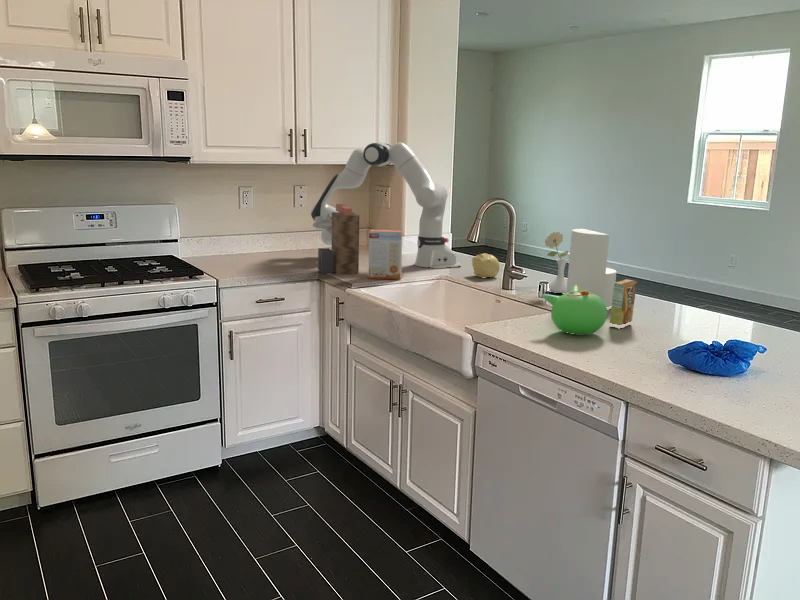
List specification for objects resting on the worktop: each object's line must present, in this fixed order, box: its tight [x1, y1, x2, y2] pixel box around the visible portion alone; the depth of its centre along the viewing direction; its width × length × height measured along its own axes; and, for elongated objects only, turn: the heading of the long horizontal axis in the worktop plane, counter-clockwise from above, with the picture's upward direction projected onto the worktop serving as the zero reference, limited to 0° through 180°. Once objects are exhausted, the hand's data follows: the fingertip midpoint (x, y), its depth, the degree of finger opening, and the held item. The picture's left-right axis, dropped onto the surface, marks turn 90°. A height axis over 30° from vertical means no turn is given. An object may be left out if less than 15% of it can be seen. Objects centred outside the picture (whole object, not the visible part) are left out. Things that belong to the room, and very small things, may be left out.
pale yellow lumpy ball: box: [471, 252, 500, 278], centre depth 302 cm, size 11×12×11 cm
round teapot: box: [541, 285, 608, 335], centre depth 213 cm, size 18×17×15 cm
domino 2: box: [318, 249, 331, 273], centre depth 301 cm, size 5×2×10 cm, turn 107°
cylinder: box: [566, 228, 617, 307], centre depth 251 cm, size 17×17×28 cm
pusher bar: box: [335, 203, 353, 215], centre depth 303 cm, size 3×20×3 cm, turn 16°
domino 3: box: [320, 251, 334, 275], centre depth 298 cm, size 5×2×10 cm, turn 107°
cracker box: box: [368, 229, 403, 281], centre depth 290 cm, size 14×6×21 cm, turn 84°
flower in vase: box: [544, 231, 569, 293], centre depth 271 cm, size 13×11×25 cm
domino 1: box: [317, 247, 331, 270], centre depth 305 cm, size 5×2×10 cm, turn 107°
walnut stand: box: [330, 211, 360, 275], centre depth 303 cm, size 10×12×26 cm
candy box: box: [609, 278, 638, 325], centre depth 224 cm, size 9×4×15 cm, turn 137°
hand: (338, 215), depth 315 cm, fingers open, 8 cm apart
